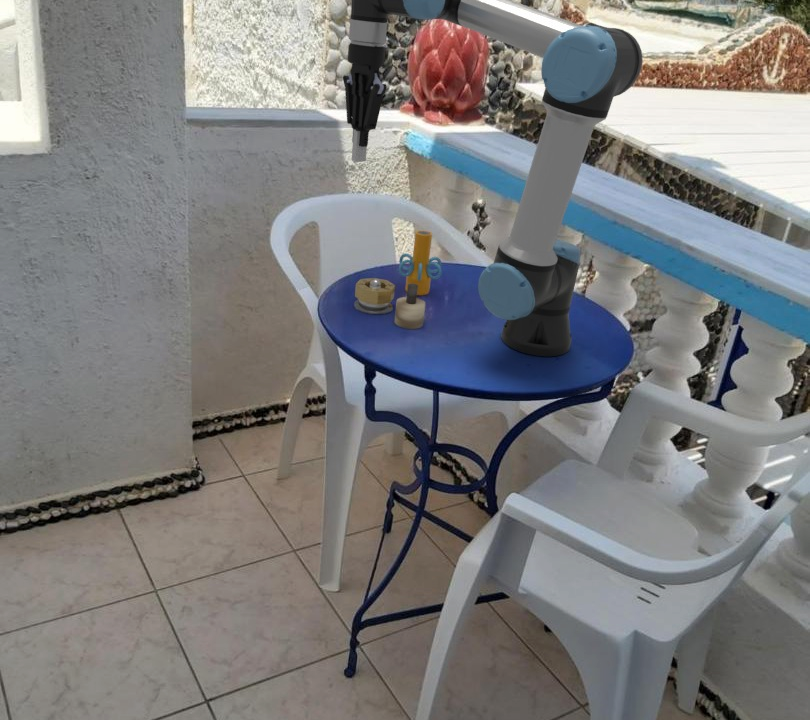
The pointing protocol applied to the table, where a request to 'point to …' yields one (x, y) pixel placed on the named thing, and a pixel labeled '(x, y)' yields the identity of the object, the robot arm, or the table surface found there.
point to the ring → (374, 291)
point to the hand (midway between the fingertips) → (358, 160)
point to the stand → (410, 309)
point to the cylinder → (420, 263)
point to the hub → (373, 308)
